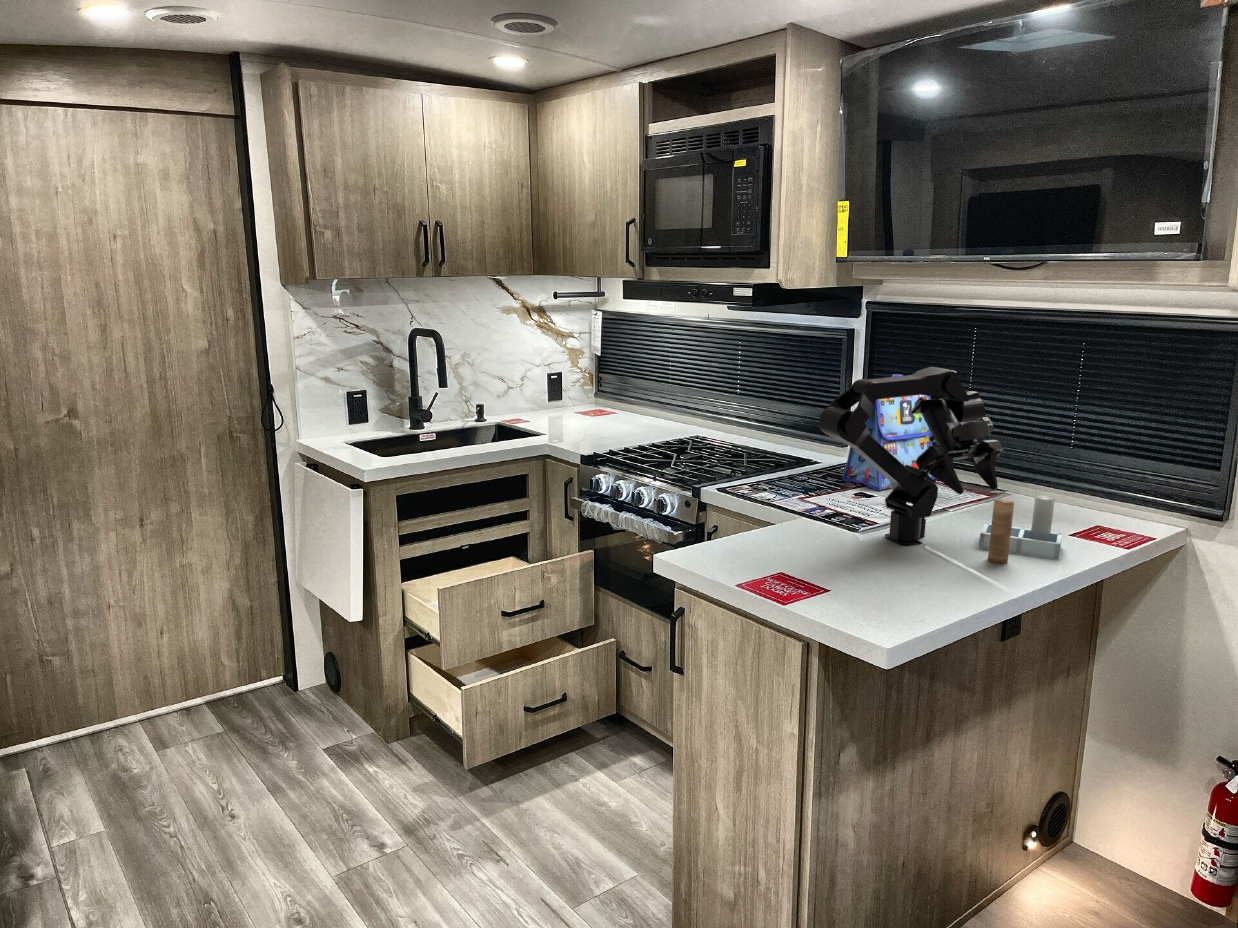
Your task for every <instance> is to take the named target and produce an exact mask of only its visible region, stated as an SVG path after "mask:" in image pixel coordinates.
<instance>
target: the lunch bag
mask: <svg viewBox="0 0 1238 928" xmlns="http://www.w3.org/2000/svg"><path fill="white" fill-rule="evenodd" d="M898 376H904V375H903V374H895V373H894V374H892V376H891V377H898ZM920 397H921V398H923V399H927V400H930V399H932V398H931V397H932V396H926V395H913V396H904V397H895V398H886V399H877V400H876V402H875V403H874V404H873V407H872V411H871V414H870V417H869V419H868V420H867V421H866V422H865V424H866V425H867V429H868V433H869V434H870V435H871V436H872V437H873V438H874V439H875V440H876V441H877V442H878V443H880V444H881V445H882V446H883V447H884V448H885V449H886V450H887V451H888V452H890V453H891V454H892V455H893V456H894V457H895V458H896V459H897V460H898V461H900V462H901V463H902V464H903V465H904V466H905V465H909V466H912V467H915V468H918V466H917V464H916V462H917V457H918V456H919V455H921V454H922V453H923V452H924V451H925V450H926V449H927V448H928V447H929V446H933V442H931V441H930V439H929V438H930V437H931V436H932V433H931V431H930V430H929V428H928V426H927V424H926V422H925V420H924V418H923V416H922V414H921V413H918V414H912V413H911V411H912V410H913V408H914V405H915V402H916V401H917V400H918V399H919V398H920ZM918 469H919V468H918ZM925 472H926V471H925ZM928 475H929V476H930V478H932V479H934V480H936V478H935V477H933V476H932V475H930V474H928ZM842 480H843V481H844V482H853V483H857V484H858V483H859V484H864V485H866V486H868V487H870V488H871V489H873V490H874V491H881V490H887V489H892V487H891V482H890V481H889V480H888V479H887V478H886V477H885V476H884V475H882V474H881V473H880V472H879V471H878V470H877V469H876V468H874V467H873V466H872V465H871V464H870V463H869V462H867V461H866V460H865V459H864V458H863V457H862V456H861V455H859V454H858V453H857V452H856V451H855V450H854V449H853V448H851V447H850V446H849V451H848V455H847V460H846V464H845V468H844V472H843V475H842Z"/></svg>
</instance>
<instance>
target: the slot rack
mask: <svg viewBox="0 0 1238 928" xmlns="http://www.w3.org/2000/svg"><path fill="white" fill-rule="evenodd" d="M991 525H992V523H987V522H985V523H984V525H983V527H982V529H981V531H980V533H979V545H978V547H977V548H978V549H982V550H989V544H990V535H991ZM1030 536H1031V529H1030V528H1023V527H1017V526H1016V527H1015V526H1012V528H1011V537H1010V545H1009V553H1010V554H1016V555H1023V556H1029V557H1037V558H1043V559H1050V560H1055V561H1056V560H1057V561H1059V560H1060V556H1061V552H1062V542H1063V541H1062V539H1063V533H1059V532H1053V531H1051V534H1050V542H1048V541H1041V540H1034V539H1030Z"/></svg>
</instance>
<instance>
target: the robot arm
mask: <svg viewBox="0 0 1238 928" xmlns="http://www.w3.org/2000/svg"><path fill="white" fill-rule="evenodd" d="M913 395H926V396H930V397H934V398H931V399H930V400H927V399H923V398H921V397H920V398H919V399H918V400H917V401H916V402H915V405H914V408H913V410H912V411H911V413H912V414H918V413H921V414H922V416H923V418H924V420H925V422H926V424H927V426H928V428H929V430H930V431H931V437H930V438H929V439H930V441H931V442H932V443H936V445H932V446H929V447H928V448H927V449H926V450H925V451H924V452H923V453H922V454H921V455H919V456H918V457H917V462H916V464H917V466H918V468H919V469H918V468H915V467H912V466H909V465H905V466H904V465H903V464H902V463H901V462H900V461H898V460H897V459H896V458H895V457H894V456H893V455H892V454H891V453H890V452H888V451H887V450H886V449H885V448H884V447H883V446H882V445H881V444H880V443H878V442H877V441H876V440H875V439H874V438H873V437H872V436H871V435H870V434H869V433H868V429H867V425H866V424H865V422H866V421H867V420H868V419H869V417H870V414H871V411H872V407H873V404H874V403H875V402H876V400H877V399H886V398H895V397H904V396H913ZM856 404H857V406H856V408H854V410H850V409H851V407H853V406H855V405H856ZM986 415H987V409H986V406H985V404H984V402H983V400H982V399H981V398H980V392H978V391H972V390H971V391H970V390H969V391H966V390H965V388H964V386H963V384H962V382H961V381H960V376H959V374H958V373H957V371H956V370H954V369H947V368H942V367H936V366H929V367H925V368H922V369H919V370H917V371H916V372H915V373H912V374H908V375H903V376H898V377H892V376H889V377H881V378H880V377H878V378H870V379H864V378H862V379H861V378H860V379H857V380H855V381H854V382H853V383H852V384H851V385H850V387H849V388H848V389H847V390H845V391H844V392H842V393H841V394H840V395H838V396H837V397H835V398H834V400H832V401H831V403H829V405H828V407H826V408H824V410H823V411H822V412H821V413H820V416H819V421H818V423H819V424H818V428H819V430H820V431H821V432H822V433H824V434H825V435H827V436H829V437H831V438H833V439H835V440H836V441H839V442H841V443H843V444H845V445H847V446H849V448H850V447H851V448H853V449H854V450H855V451H856V452H857V453H858V454H859V455H861V456H862V457H863V458H864V459H865V460H866V461H867V462H869V463H870V464H871V465H872V466H873V467H874V468H876V469H877V470H878V471H879V472H880V473H881V474H882V475H884V476H885V477H886V478H887V479H888V480H889V481H890V482H891V487H892V488H891V492H890V493H889V494H888V495H887V496H886V497H885V499H884V502H885V507H886V509H888V510H889V509H890V523H889V531H888V532H889V533H885V534H884V537H885V538H887V539H889V540H890V541H893V542H894V543H897V544H898V545H900V546H908V545H919V544H923V542H922V541H920V539H923V538H925V536H926V526H927V525H926V524H927V519H926V518H927V517H931V515H932V512H933V510H934V508H935V504H936V501H937V500H938V494H939V492H938V491H939V487H938V486H937V484H936V482H937V480H938V481H940V482H941V483H943V484H944V485H945V486H946V487H948V488H949V489H951V490H952V491H953V492H954V493H956V494H958V495H962V494H964V489H963V486H962V483H961V481H960V479H959V477H958V475H957V472H956V471H955V469H954V461H956V460H964V459H965V460H966V459H968V460H969V462H970V463H971V464H973V466H972V468H973V470H974V471H975V472H976V473H977V474H978V475H979V476H980V478H981V479H982V480H983V481H984V483H985V484H986V485H987V486H988V487H989V488H990V489H991V490H992V491H995V490H997V489H998V488H999V486H998V480H997V473H996V471H997V470H996V460H997V458H998V457H999V456H1000V455H1001V453H1002V452H1003V451H1004V447H1003V445H1002V443H1001V442H1000V440H996V439H990V440H989V439H988V440H982V441H981V442H979V443H978V439H980V438H985V437H986V438H988V437H990V436H991V433H993V432H994V430H995V429H994V428H995V427H994V424H993V422H992V421H991V418H989V416H986ZM977 443H978V444H977ZM975 444H977V445H976V446H974V445H975ZM972 446H974V447H972ZM925 471H926V472H925ZM928 474H930V475H932V476H933V477H935V479H932V478H930V476H929V475H928ZM936 479H937V480H936ZM910 504H911V505H910Z"/></svg>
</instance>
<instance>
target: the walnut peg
mask: <svg viewBox="0 0 1238 928" xmlns="http://www.w3.org/2000/svg"><path fill="white" fill-rule="evenodd" d="M993 501H994V502H993V507H992V518H991V524H992V525H991V535H990V544H989V549H988V555H987V561H988V562H989V563H992V564H996V565H1007V564H1008V561H1009V545H1010V537H1011V528H1012V527H1013V517H1014V510H1015V501H1014V500H1011V499H1007V498H994V500H993Z"/></svg>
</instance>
